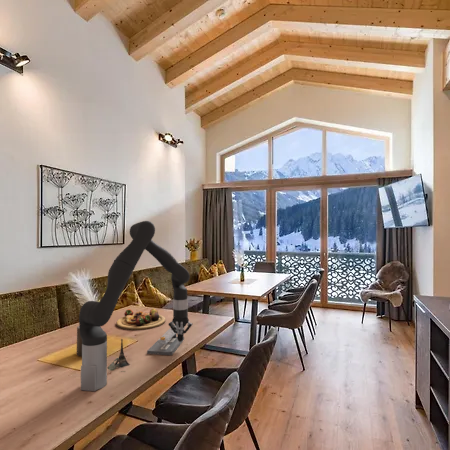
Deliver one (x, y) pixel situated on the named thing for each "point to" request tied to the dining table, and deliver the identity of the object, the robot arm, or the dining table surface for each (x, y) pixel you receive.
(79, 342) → the pillar candle
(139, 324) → the wooden plate with food
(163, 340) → the swing arm
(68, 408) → the dining table surface
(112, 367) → the eiffel tower figurine
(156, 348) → the label board
